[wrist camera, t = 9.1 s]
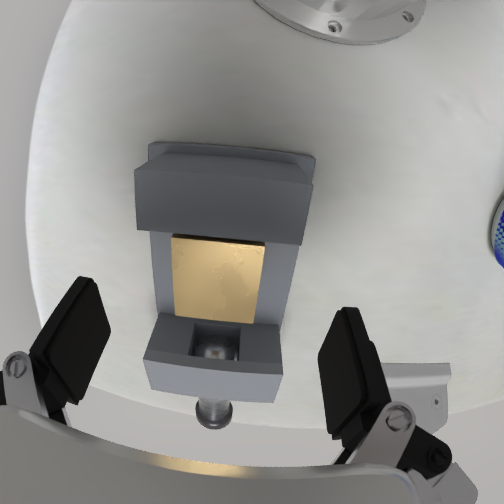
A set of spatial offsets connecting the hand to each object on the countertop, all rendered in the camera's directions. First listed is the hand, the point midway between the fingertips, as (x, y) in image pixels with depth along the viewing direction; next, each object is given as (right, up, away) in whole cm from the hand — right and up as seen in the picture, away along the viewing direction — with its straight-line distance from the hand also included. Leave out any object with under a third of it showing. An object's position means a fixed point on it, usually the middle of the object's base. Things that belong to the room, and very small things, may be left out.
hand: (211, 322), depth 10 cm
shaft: (-2, -9, +14) cm, 17 cm away
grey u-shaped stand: (-1, -1, +11) cm, 11 cm away
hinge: (+19, -14, +19) cm, 30 cm away
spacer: (0, +3, +8) cm, 9 cm away
